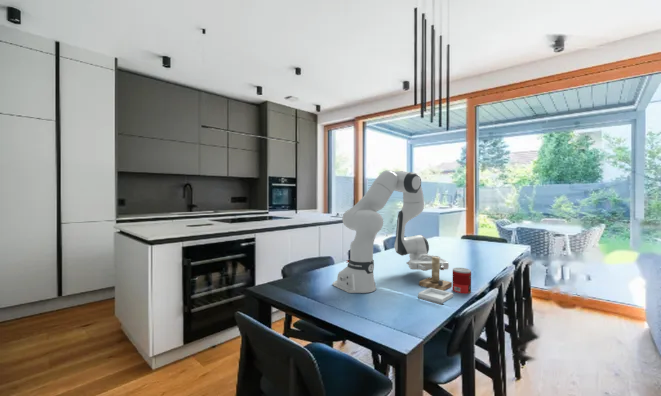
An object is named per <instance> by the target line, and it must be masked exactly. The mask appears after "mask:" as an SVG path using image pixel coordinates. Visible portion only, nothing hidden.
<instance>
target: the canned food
mask: <svg viewBox="0 0 661 396" xmlns="http://www.w3.org/2000/svg"><path fill="white" fill-rule="evenodd" d="M452 291H453V292H454V293H458V294H463V295H464V294H471V293H472V270H471V269H468V268H467V267H466V268H465V267H453V268H452Z"/></svg>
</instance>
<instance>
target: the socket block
mask: <svg viewBox="0 0 661 396" xmlns="http://www.w3.org/2000/svg"><path fill="white" fill-rule="evenodd" d="M418 285H419V286H420V287H424V288H427V289H428V288H435V289H439V290H443V291H446V290H447V289H449V288H451V287H452V288H453V281H447V280H443V279H439V280H438V284H436V283H432V277H426V278H424V279H421V280H419V283H418Z"/></svg>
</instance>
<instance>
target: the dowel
mask: <svg viewBox="0 0 661 396" xmlns="http://www.w3.org/2000/svg"><path fill="white" fill-rule="evenodd" d="M439 257H440V256H439ZM439 257H432V269H431V278H432V283H436V284H438V280H440V269H439V266H440V258H441V257H440V258H439Z"/></svg>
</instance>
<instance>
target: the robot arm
mask: <svg viewBox="0 0 661 396" xmlns="http://www.w3.org/2000/svg"><path fill="white" fill-rule="evenodd" d="M394 191H395V192H399V193H402V202H403V203H402V204H403V206H402V208H401V210H399V211H398V212H397V213H398V215H397V218H396V219H397V220H396V221H397V222H396V229H395V230H396V232H395V238H394V239H395V240H394V251H395V253H397V254H398V255H400V256H402V257H403V256H406V255H408V256H409V260H408V261H406V265H407V266H408V267H409V269H410V270H413V271H414V270H415V271H416V270H421V271H425V272H427V271H430V270H431V271H432V257H439V258H440V266H439V271H445V270H449V266H450V264H449V262H448V261H447V260H445V259H443V258H441V256H439V255H431V254H429V251H430V245H429V242H428V239H427V238H426V237H425V236H424V235H422V234H418V235H417V234H416V235H413V236H406V237H405V231H406V225H407V223H408V222H409V221H411V220H412V219H415V218H416V217H418V216H419V215H421V214H422V212H423V211H424V209H425V208H424V207H425V200H424V193H423V188H422V179H421V177H420V175H419V174H418V173H416V172H413V171H403V170H388V169H387V170H384V171H382V172H381V173H380V174H379V175H378V176H377V177H376V179H375V180H374V181H373V182H372V184H371V185H370V187H369V188H368V190H367V191H366V193H365V194H364V195H363V197H361V198H360V200H358V201H357V202H356V203H355V205H353V206H352V207H351V208H350V209H348V210H346V211H344V213H343V215H342V224H343V225H344V226H345V227H346V228H348V229H349V230H351V231H355V236H354V239H353V240H352V241H351V242H350V247H349V248H350V251H349V252H350V254H349V255H350V258H349V259H347V260H346V262H345V263H347V265H346V267H344V268H343V269H342V270H340V271H339V272H338V274H337V278H336V279H337V280H334V281H333V282H332V285H333V286H334V287H335V288H338V289H340V290H342V291H344V292H347V293H348V294H353V293H354V294H355V293H358V294H361V293H362V294H365V293H366V294H367V293H373V292H375V291H376V290H377V286H376V282H375V276H374V275H375V274H374V268H375V263H374V243H375V240H376V236H377V235H378V233H379V232H380V231H381V230H382V228H383V226H384V218H383V217H382V214H380V213H378V211H380V210H382V209H383V208H385V206H386V204H387V203H388V201H389V199H390V197H391V196H392V194H393V193H394Z"/></svg>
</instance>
